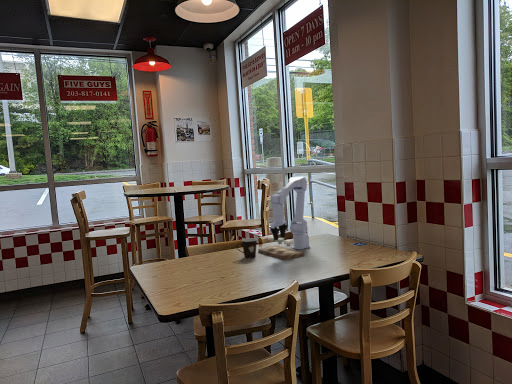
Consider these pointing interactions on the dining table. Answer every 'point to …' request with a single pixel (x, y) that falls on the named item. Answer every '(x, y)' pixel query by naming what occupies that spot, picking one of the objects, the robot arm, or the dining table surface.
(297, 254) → the knob board
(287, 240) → the ivory knob
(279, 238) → the middle sage knob
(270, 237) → the ivory knob
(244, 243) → the coffee mug
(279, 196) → the robot arm
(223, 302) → the dining table surface
